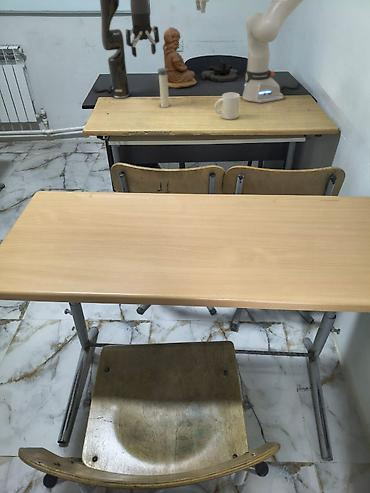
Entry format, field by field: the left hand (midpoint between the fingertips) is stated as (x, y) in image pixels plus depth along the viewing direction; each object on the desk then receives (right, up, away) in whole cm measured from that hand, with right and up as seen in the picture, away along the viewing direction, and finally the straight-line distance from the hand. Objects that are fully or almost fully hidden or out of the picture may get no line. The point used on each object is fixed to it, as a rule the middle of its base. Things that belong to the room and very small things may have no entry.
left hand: (144, 55), depth 157 cm
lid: (+7, +5, +24) cm, 25 cm away
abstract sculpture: (+41, +25, +74) cm, 88 cm away
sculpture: (+13, +19, +67) cm, 71 cm away
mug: (+38, -20, +20) cm, 48 cm away
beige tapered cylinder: (+7, -8, +35) cm, 37 cm away
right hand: (+25, +28, +13) cm, 39 cm away
